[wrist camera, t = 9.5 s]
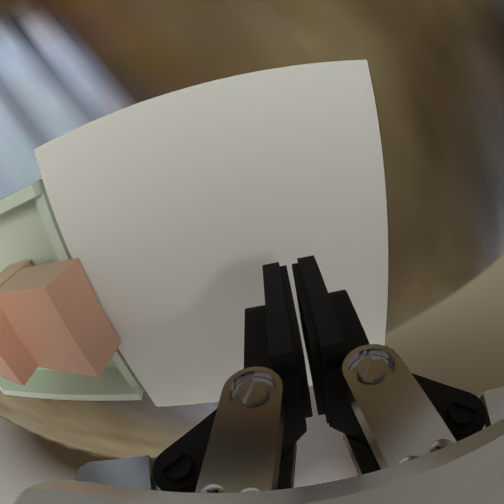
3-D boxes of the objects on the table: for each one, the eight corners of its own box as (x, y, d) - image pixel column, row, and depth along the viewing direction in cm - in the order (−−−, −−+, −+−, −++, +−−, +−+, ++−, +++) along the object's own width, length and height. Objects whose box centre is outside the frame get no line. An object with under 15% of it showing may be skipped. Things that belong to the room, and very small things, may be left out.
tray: (64, 169, 13) (31, 184, 10) (150, 365, 19) (141, 399, 16) (-57, 236, 14) (-81, 253, 11) (17, 370, 19) (3, 394, 17)
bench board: (345, 67, 12) (366, 59, 9) (369, 340, 18) (382, 367, 16) (61, 142, 12) (33, 149, 10) (162, 378, 19) (156, 406, 17)
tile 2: (77, 257, 12) (44, 287, 10) (120, 342, 14) (99, 377, 12) (21, 268, 13) (-7, 292, 11) (60, 339, 15) (39, 367, 13)
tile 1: (-28, 310, 10) (-43, 309, 10) (24, 386, 12) (3, 379, 12) (29, 260, 14) (9, 264, 14) (66, 330, 16) (44, 329, 17)
